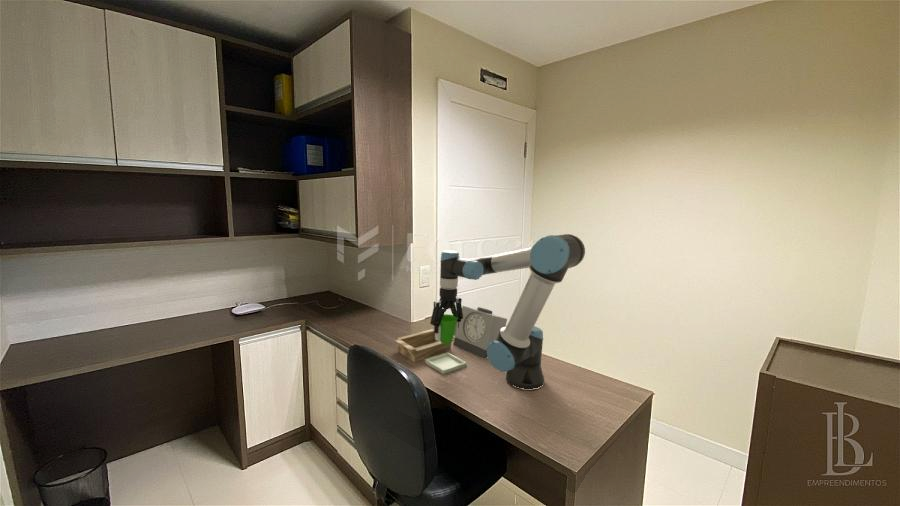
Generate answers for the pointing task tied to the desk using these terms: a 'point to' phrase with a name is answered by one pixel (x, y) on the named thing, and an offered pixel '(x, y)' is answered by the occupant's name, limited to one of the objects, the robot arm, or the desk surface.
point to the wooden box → (419, 339)
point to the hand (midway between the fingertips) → (446, 337)
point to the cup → (447, 328)
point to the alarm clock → (478, 330)
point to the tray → (445, 363)
